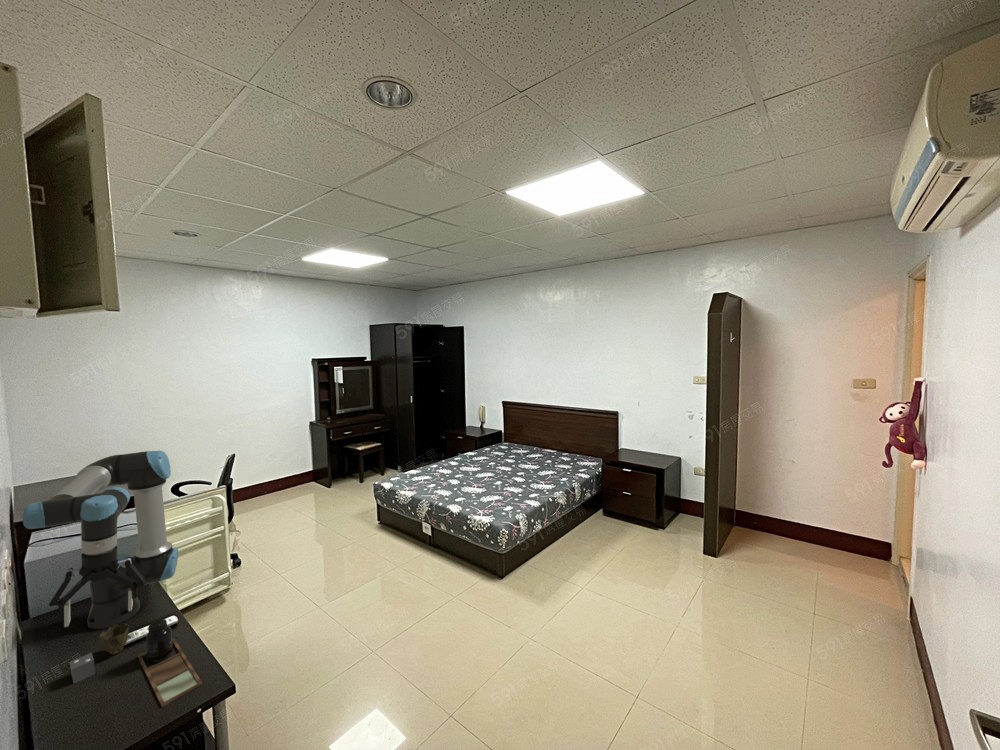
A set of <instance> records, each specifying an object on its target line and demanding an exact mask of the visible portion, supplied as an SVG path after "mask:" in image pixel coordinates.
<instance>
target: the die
mask: <svg viewBox="0 0 1000 750" xmlns="http://www.w3.org/2000/svg"><path fill="white" fill-rule="evenodd" d="M69 665H70V668H69V669H70V674H71V679H72V682H73V684H74V683H75V684H77V683H79V682H81V681H83V680H86V679H87V678H89V677H91V676H93V675H95V674H96V667H95V659H94V657H93V653H92V652H90V653H87V654H85V655H83V656H80V657H78V658H76V659H73V660H71V661H69Z"/></svg>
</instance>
